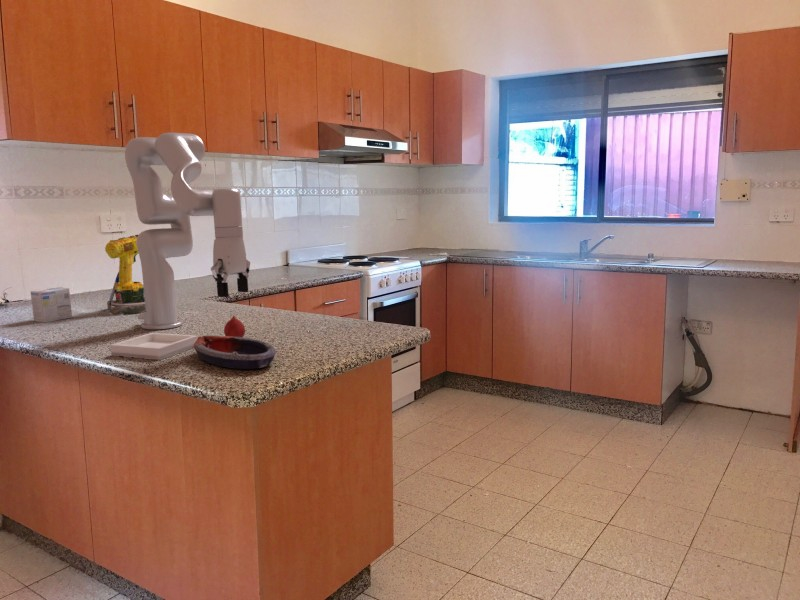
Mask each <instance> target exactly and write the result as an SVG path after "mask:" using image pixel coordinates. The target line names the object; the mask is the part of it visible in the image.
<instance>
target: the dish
mask: <svg viewBox="0 0 800 600" xmlns="http://www.w3.org/2000/svg"><path fill="white" fill-rule="evenodd" d="M193 349H194V351H195V352H196V354H197V355H198V357H199V358H200V359H201V360H202V361H204V362H206V363H207V362H208V363H209V364H212V365H215V366H219V367H222V368H228V369H234V370H236V369H237V370H255V369H256V370H257V369H261V368H265V367H268V366H270V365H271V363H272V362H274V361H273V360H274V357H275V355H276V354H277V353H276V351H277V350H276V348H275V347H274V346H273V345H272V344H270V343H268V342H265V341H263V340H258V339H254V338H249V337H244V336H243V337H232V336H225V335H203V336H198V339H197V340H196V342H195V343H194V348H193Z"/></svg>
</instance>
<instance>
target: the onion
mask: <svg viewBox="0 0 800 600" xmlns="http://www.w3.org/2000/svg"><path fill="white" fill-rule="evenodd" d="M236 317H237V316H236V315H233V316H232V317H231V318H230V320H228V321H227V322H226V323H225V325H224V327H223V334H224V336H232V337H244V336H245V334H246V327H245V325H244V324H243V322H242V321H240V320H239V319H238V318H236Z"/></svg>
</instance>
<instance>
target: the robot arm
mask: <svg viewBox="0 0 800 600" xmlns="http://www.w3.org/2000/svg"><path fill="white" fill-rule="evenodd" d="M205 147H206V146H205V143H204V142H203V140H202V139H201V137H199V136H198V135H197V134H194V133H189V132H188V133H185V132H164V133H161V134H159V135H158V136H156V137H152V136H151V137H150V136H141V137H139V136H138V137H135V138H132V139H130V140H129V141H128V142H127V144H126V145H125V148H124V149H125V151H124V159H125V164H126V167H127V170H128V172H129V174H130V177H131V180H132V185H133V191H134V200H135V205H136V206H135V207H136V211H137V216H138V217H137V218H138V220H139V221H140V222H141V224H144V225H152V226H153V225H155V226H156V225H170V227H169V228H150V229H145V230H143V231H141V232H140V233H139V234H137V235H138V237H137V240H136V244H137V249H138V256H139V260H140V265H141V273H142V282H143V283H142V285H143V288H144V299H145V311H144V312H140V313H139V315H137V319H138V320H143V322H142V323H141V328H142V329H144V330H167V329H174V328H177V327H180V326H182V325H183V320H181V319H178V311H177V299H176V298H177V297H176V286H175V284H176V283H175V274H174V270H173V268H172V266H171V265H170V263H169V262H168V261H167V259H171V258H181V257H186V256H188V255H190V254H191V252H192V250H193V245H194V244H193V240H194V239H193V233H192V232H193V231H192V225H191V224H192V223H191V217H207V216H208V217H209V216H211V217H213V227H214V238H215V239H214V240H213V247H212V248H213V249H212V252H213V253H212V257H213V258H212V259H213V260H212V266H211V267H210V271H211V274H212V278H213V279H214V282H215V283H216V291H217V292H216V293H217V294H216V295H217V297H218V298H228V297H229V296H230V295H229V286H228V285H229V282H227V279H228V277H229V276H231V275H237V278H236V283H237V292H238V293H249V282H248V281H249V280H248V279H249V274H250V273H249V272H250V266H251V261H249V260H248V259H247V254H246V246H245V242H244V231H243V219H242V218H243V217H242V203H241V194H240V191H239V190H238V189H237V188H191V186H190V185H188V184H190V183H193V182H194V181H196V180H197V179H198V178H199V176H200V175H201V173H202V170H203V167H202V164H201V162H200V161H202V160H203V158H204V156H205V154H206V148H205ZM151 166H166V167H167V168H168V170H169V171H170V173H171V175H172V176H171V181H170V191H171V194H165V193H164V191H163V190H164V189H163V183H162V179H161V177H160V176H159V174H158V172H157V171H156V170H154V169H153V167H151Z"/></svg>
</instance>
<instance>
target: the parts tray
mask: <svg viewBox="0 0 800 600" xmlns="http://www.w3.org/2000/svg"><path fill="white" fill-rule="evenodd" d="M198 337H199V335H194V334H193V335H190V334H179V333H178V334H177V333H163V332H162V333H161V332H160V333H159V332H150V333H147V334H143V335H140V336H139V335H138V336H136V337H132V338H129V339H126V340H122V341H119V342H114V343H112V344H109V345H110V354H111V355H114V356H113V357H119V356H124V357H123V358H131V357H134V359H143V358H144V359H145V360H158V361H161V360H164V359H167V358H170V357H172V356H176V355H178V354H180V353H184V352H186V351H189V350H192V349H194V343H195V342H196V340H197V339H198Z"/></svg>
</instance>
